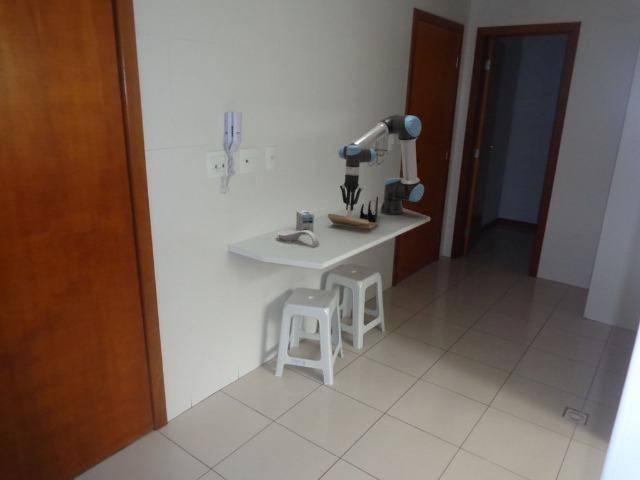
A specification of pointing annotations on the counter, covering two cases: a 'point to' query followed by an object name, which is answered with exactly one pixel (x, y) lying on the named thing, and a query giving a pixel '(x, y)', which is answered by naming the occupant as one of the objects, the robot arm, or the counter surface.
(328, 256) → the counter surface
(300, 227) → the light bulb box
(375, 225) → the walnut board
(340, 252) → the counter surface
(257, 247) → the counter surface
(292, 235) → the white curved piece
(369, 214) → the letter holder
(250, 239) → the counter surface
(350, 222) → the oak plank
